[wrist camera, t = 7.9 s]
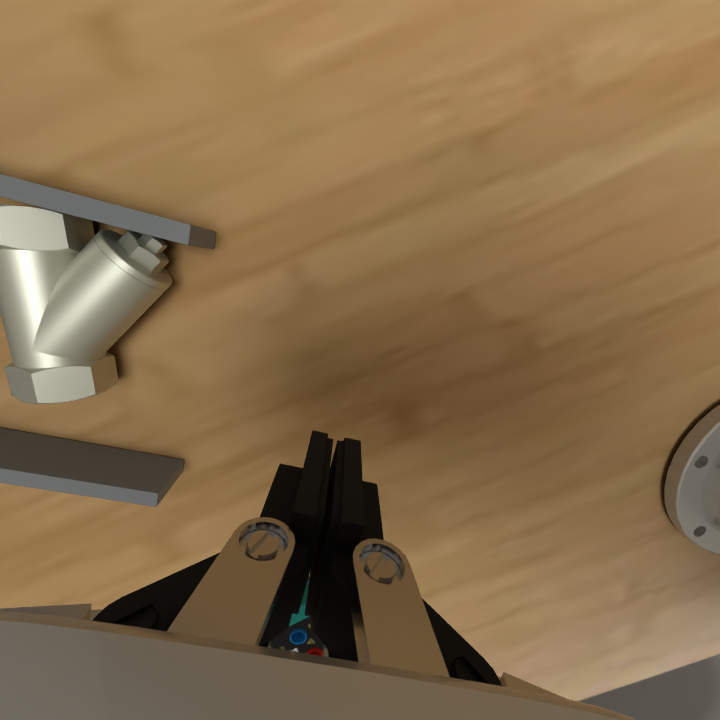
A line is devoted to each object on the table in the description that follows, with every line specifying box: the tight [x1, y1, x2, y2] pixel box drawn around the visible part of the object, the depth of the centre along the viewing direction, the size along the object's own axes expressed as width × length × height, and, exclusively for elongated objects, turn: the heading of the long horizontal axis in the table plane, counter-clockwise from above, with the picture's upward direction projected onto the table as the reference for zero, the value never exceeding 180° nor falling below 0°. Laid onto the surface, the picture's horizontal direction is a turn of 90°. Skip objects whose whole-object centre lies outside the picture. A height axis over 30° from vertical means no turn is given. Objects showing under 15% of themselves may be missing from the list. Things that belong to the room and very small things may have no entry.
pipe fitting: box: [0, 204, 172, 404], centre depth 15 cm, size 8×4×7 cm
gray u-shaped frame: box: [0, 174, 216, 507], centre depth 16 cm, size 13×14×3 cm
